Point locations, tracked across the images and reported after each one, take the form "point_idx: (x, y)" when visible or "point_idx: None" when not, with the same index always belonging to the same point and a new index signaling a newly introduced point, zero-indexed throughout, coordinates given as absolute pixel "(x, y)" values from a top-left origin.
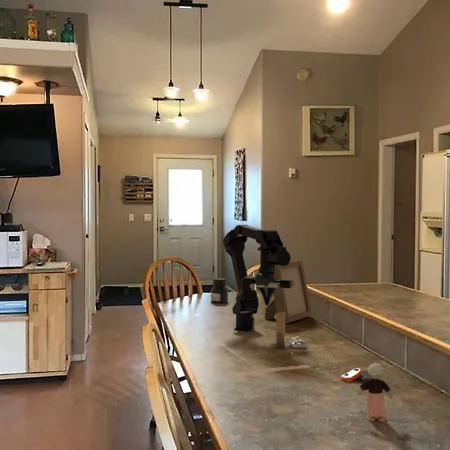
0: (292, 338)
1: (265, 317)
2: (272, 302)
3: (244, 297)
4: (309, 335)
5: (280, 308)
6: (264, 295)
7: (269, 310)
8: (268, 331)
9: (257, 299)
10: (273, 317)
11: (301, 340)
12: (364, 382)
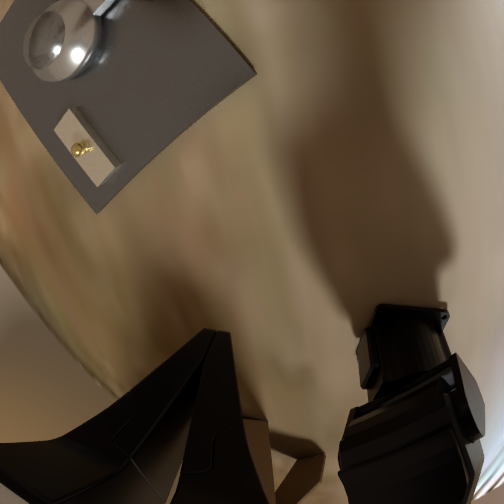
0: (104, 154)
1: (322, 457)
2: (295, 501)
3: (451, 457)
4: (104, 295)
5: None
6: (208, 432)
7: (308, 478)
8: (284, 326)
9: (346, 471)
10: (297, 461)
11: (62, 132)
12: None
